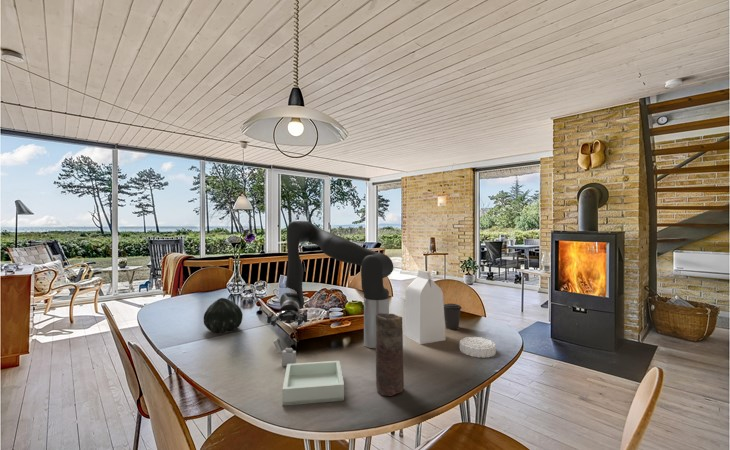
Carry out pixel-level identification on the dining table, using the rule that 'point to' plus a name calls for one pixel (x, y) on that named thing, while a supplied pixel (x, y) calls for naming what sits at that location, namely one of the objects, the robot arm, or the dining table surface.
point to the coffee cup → (452, 316)
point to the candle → (389, 354)
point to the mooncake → (477, 347)
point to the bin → (313, 383)
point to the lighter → (285, 353)
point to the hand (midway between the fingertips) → (286, 323)
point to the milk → (424, 310)
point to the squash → (223, 316)
